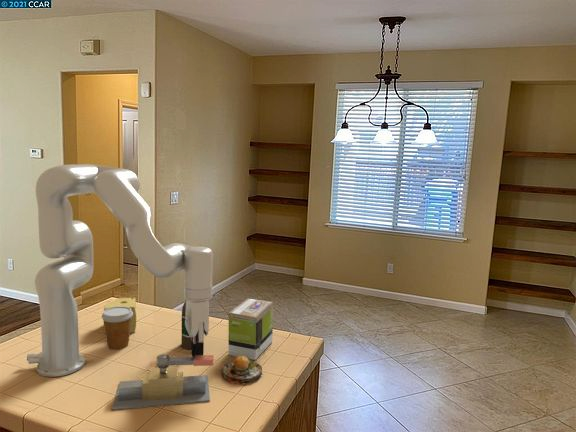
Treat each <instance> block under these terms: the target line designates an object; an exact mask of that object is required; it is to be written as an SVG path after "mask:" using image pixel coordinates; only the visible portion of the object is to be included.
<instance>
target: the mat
mask: <svg viewBox="0 0 576 432" xmlns="http://www.w3.org/2000/svg"><path fill="white" fill-rule="evenodd" d="M204 375H205V378H206V393H202V394H190V395H183V397H177V399H168V400H156V401H149V400H142V399H132V400H120V401H119V397H118V390H117V391H116V395H115V398H114V402H113V405H112V409H111V410H112V411H118V410H130V409H140V408H153V407H163V406H175V405H184V404H185V405H186V404H198V403H207V402H210V401H211V397H210V396H211V395H210V386H209V375H208V374H204ZM118 388H119V386H118V387H117V389H118Z"/></svg>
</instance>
